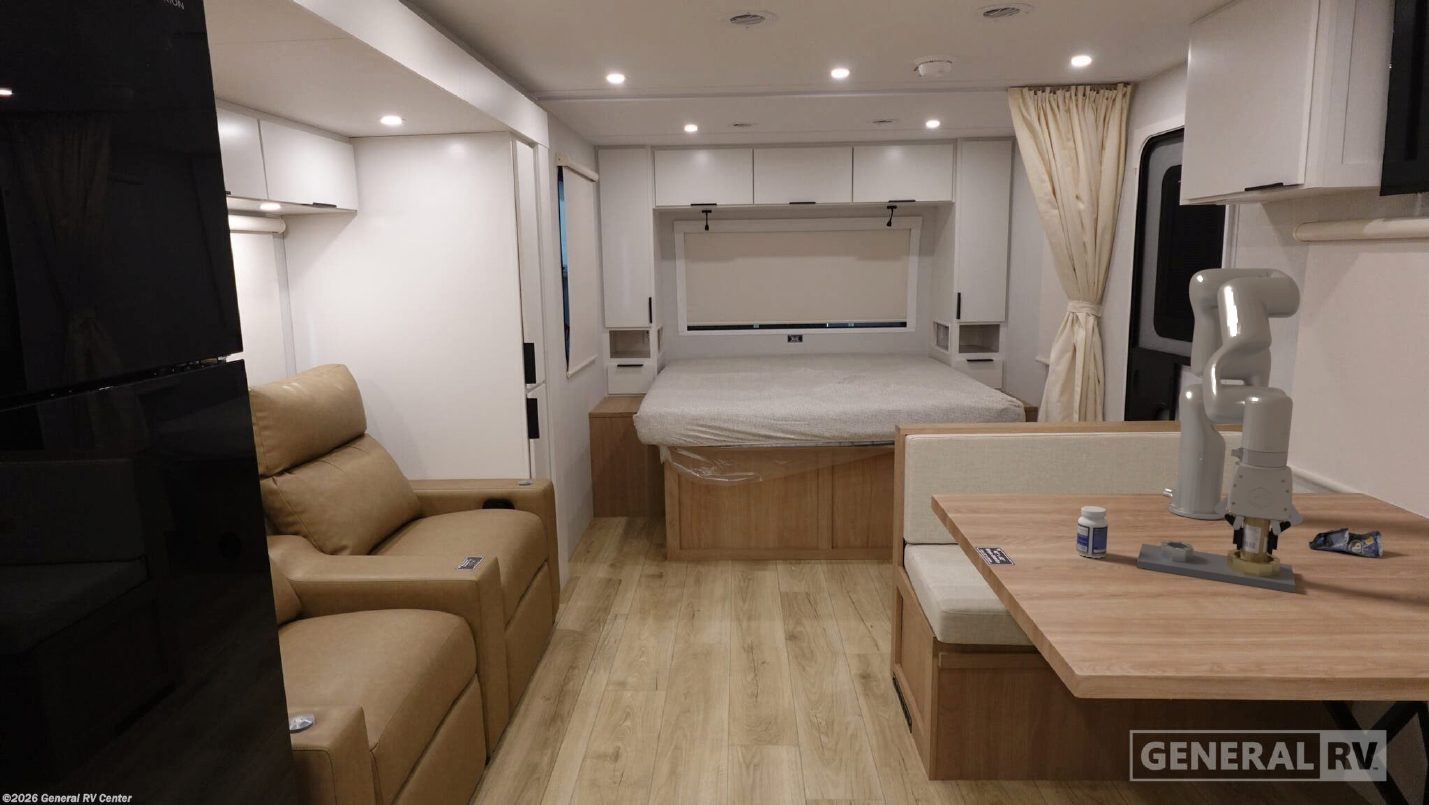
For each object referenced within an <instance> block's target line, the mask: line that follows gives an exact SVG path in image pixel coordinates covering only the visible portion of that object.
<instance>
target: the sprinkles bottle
mask: <svg viewBox="0 0 1429 805" xmlns="http://www.w3.org/2000/svg"><path fill="white" fill-rule="evenodd" d="M1270 526H1271V520H1265V519H1257V518H1249V517H1244V519H1243V521H1242V528H1243V534H1242V545H1241V557H1240V558H1241V559H1244V560H1248V561H1254V562H1266V560H1267V553H1268V552H1267V551H1268V542H1269V531H1270V530H1271V528H1270Z"/></svg>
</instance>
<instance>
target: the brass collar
mask: <svg viewBox="0 0 1429 805" xmlns="http://www.w3.org/2000/svg"><path fill="white" fill-rule="evenodd" d="M1226 556H1227V565H1226V566H1227V567H1228V568H1230V569H1231V570H1233V571H1236V572H1239V573H1242V574H1245V575H1251V576H1257V577H1273V576H1277V575H1279V569H1280V564H1281V558H1280V557H1278V556H1276V555H1275V554H1272V555H1269V554H1268V552H1267V560H1266V562H1254V561H1248V560H1244V559H1241V558H1240V557H1241V550H1237V548H1233V549H1231V550H1230V549H1229V550H1228V551H1227V555H1226Z"/></svg>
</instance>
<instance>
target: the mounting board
mask: <svg viewBox="0 0 1429 805" xmlns="http://www.w3.org/2000/svg"><path fill="white" fill-rule="evenodd" d="M1160 546H1161V545H1156V544H1155V545H1154V544H1149V543H1141V547H1140V550H1139V554H1138V558H1137V561H1136V568H1137V569H1141V568H1146V569H1145V570H1147V569H1149V570H1148V571H1153V572H1154V571H1155V572H1159V571H1161V573H1167V574H1173V575H1174V574H1175V575H1178V576H1184V577H1185V576H1186V577H1191V578H1198V579H1205V580H1209V581H1210V580H1212V581H1216V582H1223V583H1230V584H1235V585H1241V586H1248V587H1256V588H1261V589H1266V590H1267V589H1268V590H1272V591H1273V590H1274V591H1278V592H1279V591H1281V592H1286V593H1292V594H1295V592H1296V581H1295V575H1294V572H1293V567H1292V564H1286V563H1280V569H1279V575H1277V576H1273V577H1257V576H1251V575H1245V574H1242V573H1239V572H1236V571H1233V570H1231V569H1230V568H1228V567H1227V566H1226V565H1227V555H1226V554H1225V555H1224V554H1218V553H1217V554H1216V553H1211V552H1210V553H1209V552H1203V551H1197V550H1193V561H1189V562H1176V561H1170V560H1167V559H1164V558H1162V557H1161V555H1160Z"/></svg>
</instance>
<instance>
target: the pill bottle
mask: <svg viewBox="0 0 1429 805" xmlns="http://www.w3.org/2000/svg"><path fill="white" fill-rule="evenodd" d="M1080 514H1081V516H1080V517H1079V518H1078V520H1077V531H1076V532H1077V533H1076V550H1075V551H1076V553H1077V555H1079V556H1080V555H1083V556H1086V557H1085V558H1087V557H1093V558H1092V559H1095V558H1097V559H1102V558H1101V557H1103V558H1104V557H1106V556H1107V547H1108V546H1107V545H1108V528H1109V527H1108V526H1109V523H1108V521H1107V519H1105V517H1106V516H1107V510H1106V508H1105V507H1100V506H1096V505H1095V506H1094V505H1093V506H1092V505H1086V506H1082V507H1081V509H1080ZM1083 556H1082V557H1083Z"/></svg>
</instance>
